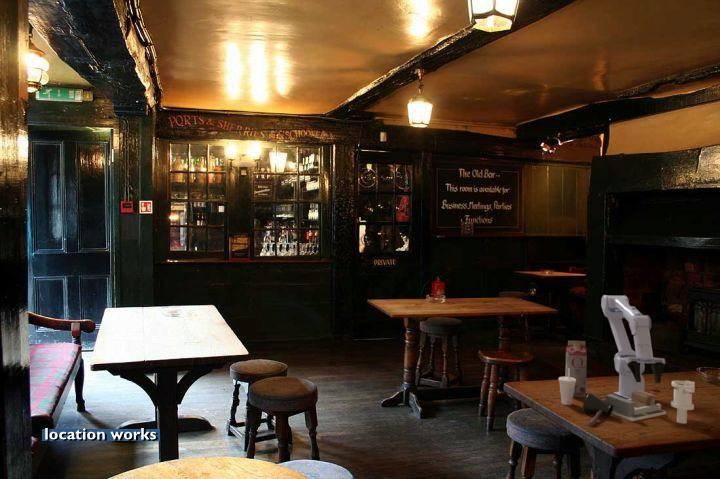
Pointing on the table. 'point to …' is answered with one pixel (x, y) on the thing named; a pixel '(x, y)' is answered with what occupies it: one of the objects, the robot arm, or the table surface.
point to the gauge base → (632, 409)
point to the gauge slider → (643, 399)
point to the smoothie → (567, 388)
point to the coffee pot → (596, 408)
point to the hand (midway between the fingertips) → (648, 382)
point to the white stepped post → (683, 399)
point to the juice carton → (577, 366)
